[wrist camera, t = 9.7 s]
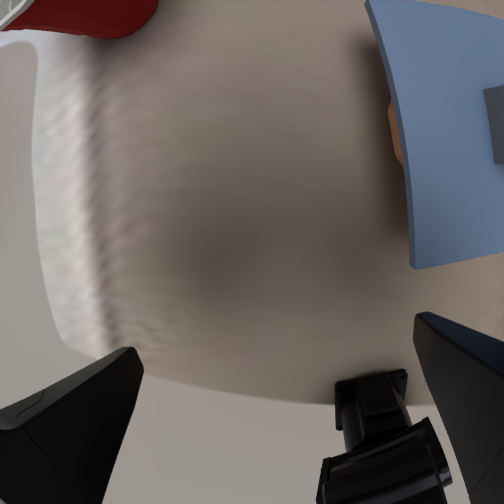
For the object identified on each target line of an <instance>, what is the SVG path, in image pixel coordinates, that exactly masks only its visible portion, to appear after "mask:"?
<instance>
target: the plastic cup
mask: <svg viewBox="0 0 504 504" xmlns="http://www.w3.org/2000/svg"><path fill="white" fill-rule="evenodd" d="M157 4H158V0H0V32H1V31H9V30H24V29H31V30H42V31H52V32H60V33H67V34H74V35H87V36H92V37H96V38H101V39H119V38H121V37H124V36H127V35H129V34H132V33H133V32H135V31H136V30H137V29H139V28H140V27H142V26H143V25H144V24H145V23H146V22H147V21H148V19H149V18H150V17H151V16H152V15H153V13H154V11H155V9H156V6H157Z"/></svg>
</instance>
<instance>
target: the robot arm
mask: <svg viewBox="0 0 504 504" xmlns="http://www.w3.org/2000/svg"><path fill="white" fill-rule="evenodd" d="M413 342H414V346H415V349H416V352H417V355H418V358H419V361H420V364H421V367H422V370H423V374H424V377H425V380H426V383H427V385H428V388H429V390H430V392H431V395H432V397H433V399H434V402H435V404H436V406H437V409H438V411H439V413H440V416H441V418H442V421H443V423H444V426H445V429H446V431H447V434H448V436H449V439H450V442H451V444H452V447H453V449H454V452H455V455H456V458H457V461H458V464H459V467H460V470H461V473H462V476H463V479H464V482H465V486H466V488H467V492H468V494H469V500H470V503H471V504H504V342H503V341H500V340H498V339H495V338H493V337H490V336H488V335H486V334H483V333H481V332H478V331H476V330H473V329H471V328H468V327H466V326H463V325H461V324H458V323H456V322H453V321H451V320H448V319H446V318H443V317H441V316H438V315H436V314H433V313H431V312H428V311H426V312H422V313H418V314H416V315H415V319H414V331H413ZM143 373H144V368H143V364H142V362H141V360H140V358H139V355H138V353H137V351H136V349H135V348H134V347H122V348H120V349H118V350H116V351H114V352H112V353H111V354H109V355H107V356H105V357H103V358H101V359H100V360H98V361H96V362H94V363H92V364H90V365H88V366H87V367H85V368H83V369H81V370H79V371H77V372H75V373H74V374H71V375H70V376H68V377H66V378H64V379H62V380H60V381H58V382H56V383H54V384H53V385H51V386H49V387H47V388H46V389H43V390H41V391H39V392H37V393H35V394H33V395H31V396H29V397H27V398H25V399H23V400H21V401H18V402H16V403H14V404H12V405H9V406H7V407H5V408H3V409H0V504H102V502H103V499H104V495H105V492H106V489H107V486H108V483H109V480H110V476H111V473H112V471H113V468H114V464H115V461H116V459H117V455H118V453H119V450H120V447H121V444H122V441H123V438H124V436H125V433H126V430H127V427H128V425H129V422H130V419H131V416H132V414H133V411H134V408H135V404H136V400H137V396H138V392H139V388H140V385H141V381H142V377H143ZM401 375H402V376H401ZM407 378H408V374H407V372H406V370H399V371H394V372H390V373H385V374H380V375H376V376H370V377H365V378H360V379H354V380H348V381H342V382H338V383H336V384H335V387H334V389H335V418H336V430H339V431H342V430H343V433H344V440H345V447H346V453H344V454H341V455H338V456H335V457H332V458H331V457H328V458H325V459H323V464H322V468H321V474H320V479H319V485H318V491H317V496H316V503H317V504H447V500H446V496H445V493H444V489H443V488H444V487H446V486H448V485H450V484H452V483H453V482H452V477H451V473H450V469H449V467H448V463H447V460H446V457H445V454H444V452H443V449H442V447H441V444H440V442H439V440H438V437H437V435H436V433H435V431H434V428H433V426H432V424H431V422H430V420H429V417H426V418H424V419H422V421H420V422H418V423H416V424H414V425H412V423H411V420H410V417H409V414H408V411H407V409H406V406H405V403H404V397H405V391H406V384H407ZM339 387H342V388H339Z"/></svg>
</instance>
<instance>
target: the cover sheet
mask: <svg viewBox="0 0 504 504" xmlns="http://www.w3.org/2000/svg"><path fill="white" fill-rule="evenodd" d="M364 5H365V7H366V10H367V13H368V16H369V19H370V22H371V25H372V28H373V31H374V34H375V37H376V40H377V44H378V47H379V50H380V54H381V57H382V61H383V65H384V69H385V72H386V76H387V80H388V85H389V89H390V93H391V98H392V103H393V107H394V112H395V118H396V123H397V129H398V134H399V141H400V147H401V154H402V161H403V169H404V177H405V187H406V198H407V210H408V226H409V255H410V265H411V266H412V267H413V268H414V269H415V270H417V269H423V268H428V267H433V266H438V265H443V264H448V263H453V262H458V261H463V260H467V259H472V258H477V257H481V256H486V255H490V254H495V253H499V252H504V20H501V19H498V18H495V17H491V16H488V15H484V14H480V13H477V12H473V11H468V10H464V9H459V8H455V7H450V6H444V5H438V4H432V3H425V2H418V1H409V0H366V2H365V4H364Z"/></svg>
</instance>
